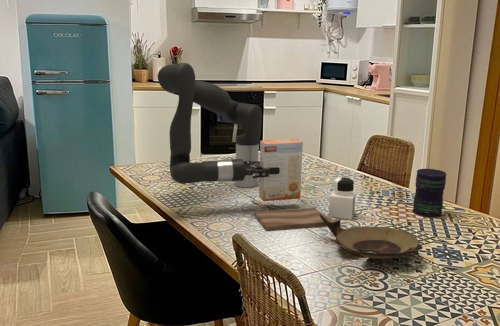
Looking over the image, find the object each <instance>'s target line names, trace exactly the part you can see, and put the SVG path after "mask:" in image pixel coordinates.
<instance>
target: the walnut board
mask: <svg viewBox="0 0 500 326" xmlns="http://www.w3.org/2000/svg"><path fill="white" fill-rule="evenodd" d="M321 213H322V212H321V211H320V210H319V209H317V208H316V207H308V208H305V207H304V208H293V209H292V208H291V209H290V208H289V209H279V210H278V209H277V210H261V211H260V210H259V211H254V213H253V216H254V217H255V219H256V220H257V221H258V222H259V224H260V225H261V227H263V229H264V230H265V231H266V232H270V231H284V230H297V229H307V228H308V229H309V228H322V227H327V225H326V224H325V223H324V222H323V220H322V219H321V217H320V214H321Z"/></svg>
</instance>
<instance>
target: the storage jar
mask: <svg viewBox="0 0 500 326" xmlns="http://www.w3.org/2000/svg"><path fill="white" fill-rule="evenodd" d="M446 177H447V173H446V172H445V171H443V170H439V169H434V168H420V169H417V170H416V176H415V184H414V185H415V193H414V194H415V195H414V197H413V202H412V203H413V204H412V207H413V208H412V213H413V214H414V215H416V216H419V217H422V218H423V217H424V218H429V219H431V218H433V219H435V218H439V217H441V216H442V211H443V207H444V205H443V204H444V199H443V197H444V191H445V189H446V183H447V181H446V180H447V178H446Z"/></svg>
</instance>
